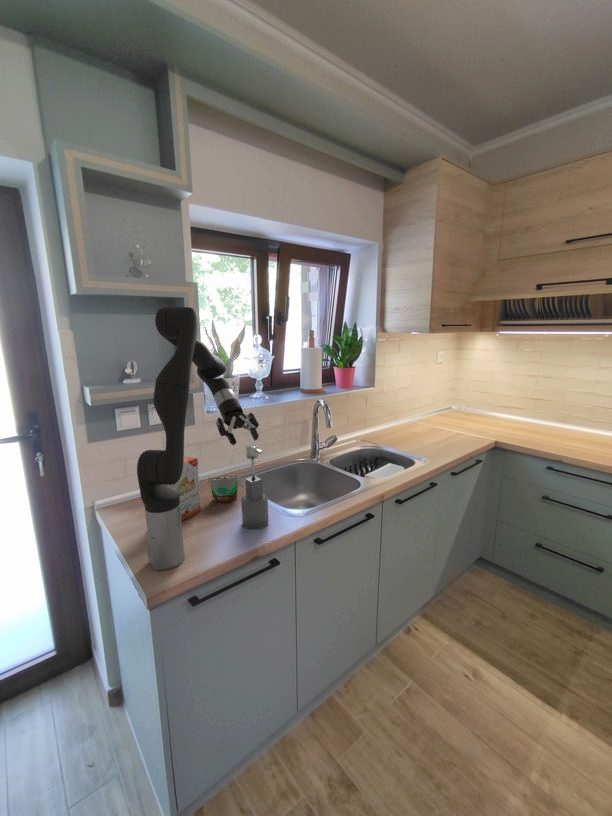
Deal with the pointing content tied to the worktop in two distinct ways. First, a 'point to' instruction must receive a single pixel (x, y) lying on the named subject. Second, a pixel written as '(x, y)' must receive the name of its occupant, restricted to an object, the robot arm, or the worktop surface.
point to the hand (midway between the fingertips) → (245, 441)
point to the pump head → (253, 456)
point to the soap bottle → (254, 505)
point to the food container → (224, 488)
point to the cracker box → (188, 488)
